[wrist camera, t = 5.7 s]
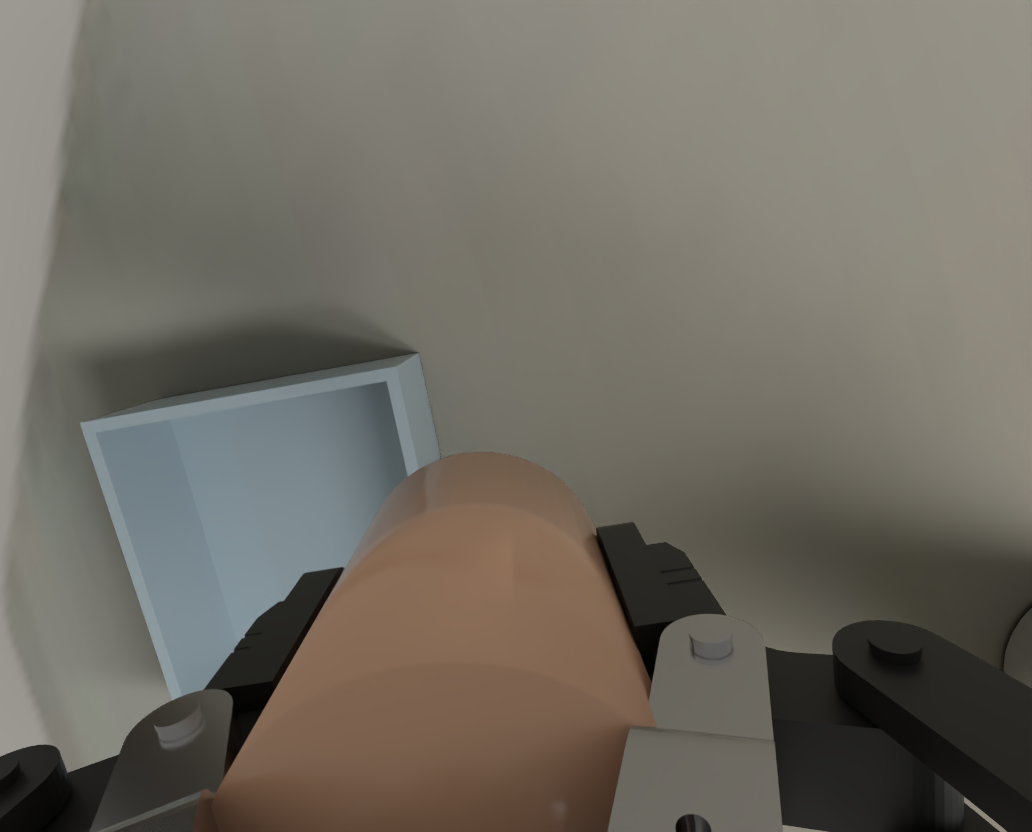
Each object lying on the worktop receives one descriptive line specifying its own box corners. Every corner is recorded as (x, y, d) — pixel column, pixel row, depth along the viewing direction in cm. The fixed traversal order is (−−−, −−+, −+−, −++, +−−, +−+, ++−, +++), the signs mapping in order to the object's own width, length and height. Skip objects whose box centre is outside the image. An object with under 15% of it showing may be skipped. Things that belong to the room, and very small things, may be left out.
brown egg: (583, 434, 12) (682, 622, 5) (613, 650, 13) (730, 1042, 6) (341, 472, 12) (133, 707, 5) (391, 685, 13) (269, 1107, 6)
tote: (418, 352, 29) (396, 366, 23) (484, 662, 32) (477, 737, 27) (160, 398, 29) (79, 422, 24) (251, 699, 33) (198, 780, 27)
